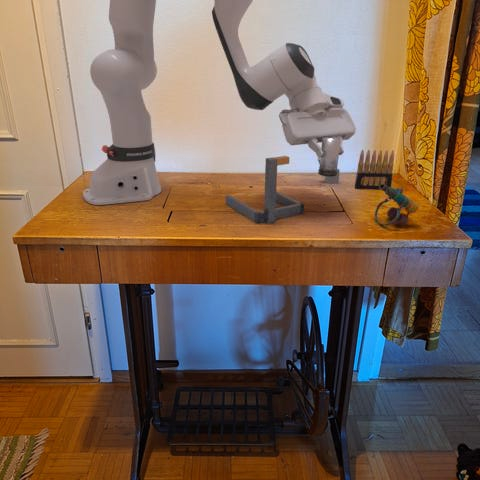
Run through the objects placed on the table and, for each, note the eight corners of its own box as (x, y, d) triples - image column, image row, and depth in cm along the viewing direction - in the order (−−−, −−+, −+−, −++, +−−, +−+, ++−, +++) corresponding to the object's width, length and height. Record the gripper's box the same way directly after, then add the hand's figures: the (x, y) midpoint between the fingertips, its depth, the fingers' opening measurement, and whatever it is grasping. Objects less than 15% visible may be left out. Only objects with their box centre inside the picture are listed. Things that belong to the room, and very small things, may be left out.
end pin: (326, 177, 108) (330, 140, 104) (314, 172, 111) (318, 136, 108) (340, 175, 110) (345, 139, 106) (328, 170, 113) (332, 135, 110)
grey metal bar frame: (260, 225, 107) (262, 161, 101) (225, 203, 122) (225, 146, 115) (307, 215, 114) (311, 154, 107) (269, 195, 128) (271, 140, 122)
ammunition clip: (389, 188, 136) (395, 149, 131) (390, 190, 134) (397, 150, 129) (354, 187, 136) (358, 148, 131) (355, 189, 135) (360, 150, 130)
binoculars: (399, 238, 106) (426, 204, 104) (372, 220, 103) (399, 185, 101) (382, 223, 115) (406, 192, 112) (356, 207, 112) (381, 174, 109)
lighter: (337, 181, 141) (340, 157, 138) (338, 183, 140) (340, 158, 137) (315, 181, 142) (317, 156, 139) (315, 182, 141) (317, 157, 137)
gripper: (282, 102, 104) (304, 151, 100) (347, 99, 114) (369, 144, 110) (270, 118, 109) (291, 166, 106) (333, 114, 119) (353, 158, 115)
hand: (331, 155), depth 108 cm, fingers closed on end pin, 4 cm apart
